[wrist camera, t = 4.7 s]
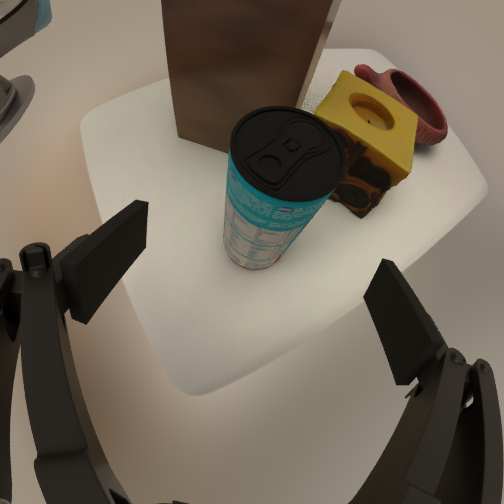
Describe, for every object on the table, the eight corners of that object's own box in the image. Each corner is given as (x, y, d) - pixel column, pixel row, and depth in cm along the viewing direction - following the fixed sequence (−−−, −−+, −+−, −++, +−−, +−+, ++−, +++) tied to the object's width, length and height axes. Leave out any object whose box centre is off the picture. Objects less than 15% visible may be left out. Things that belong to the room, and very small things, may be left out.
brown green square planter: (178, 137, 29) (158, -42, 8) (215, 88, 32) (224, -57, 11) (273, 171, 29) (339, -19, 8) (298, 116, 32) (353, -31, 11)
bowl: (402, 97, 38) (422, 69, 30) (441, 153, 35) (469, 128, 27) (334, 96, 35) (353, 57, 27) (379, 163, 32) (410, 128, 24)
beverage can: (295, 248, 27) (368, 165, 13) (247, 283, 26) (284, 223, 11) (259, 203, 28) (294, 93, 14) (211, 234, 26) (205, 131, 12)
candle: (362, 220, 29) (412, 178, 19) (284, 174, 29) (310, 113, 20) (382, 162, 32) (422, 117, 22) (317, 123, 32) (343, 67, 23)
